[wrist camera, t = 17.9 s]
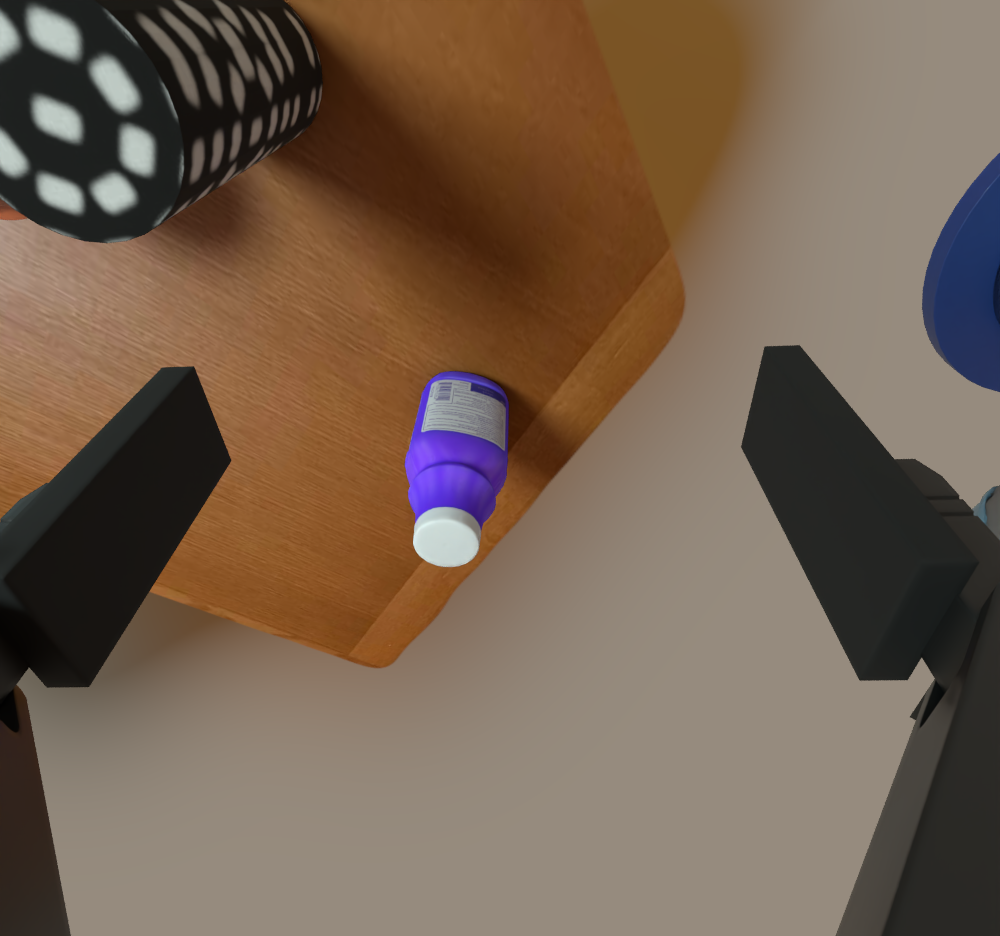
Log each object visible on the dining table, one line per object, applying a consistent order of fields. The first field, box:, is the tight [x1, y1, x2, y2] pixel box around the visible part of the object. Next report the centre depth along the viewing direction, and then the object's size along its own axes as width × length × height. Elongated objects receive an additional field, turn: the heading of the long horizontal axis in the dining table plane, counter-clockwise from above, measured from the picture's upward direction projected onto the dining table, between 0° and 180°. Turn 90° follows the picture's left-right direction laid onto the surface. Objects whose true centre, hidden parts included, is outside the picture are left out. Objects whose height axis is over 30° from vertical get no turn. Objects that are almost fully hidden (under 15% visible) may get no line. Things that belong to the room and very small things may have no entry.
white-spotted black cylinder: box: [0, 0, 323, 243], centre depth 29 cm, size 8×8×20 cm
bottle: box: [405, 371, 509, 567], centre depth 44 cm, size 7×6×17 cm
